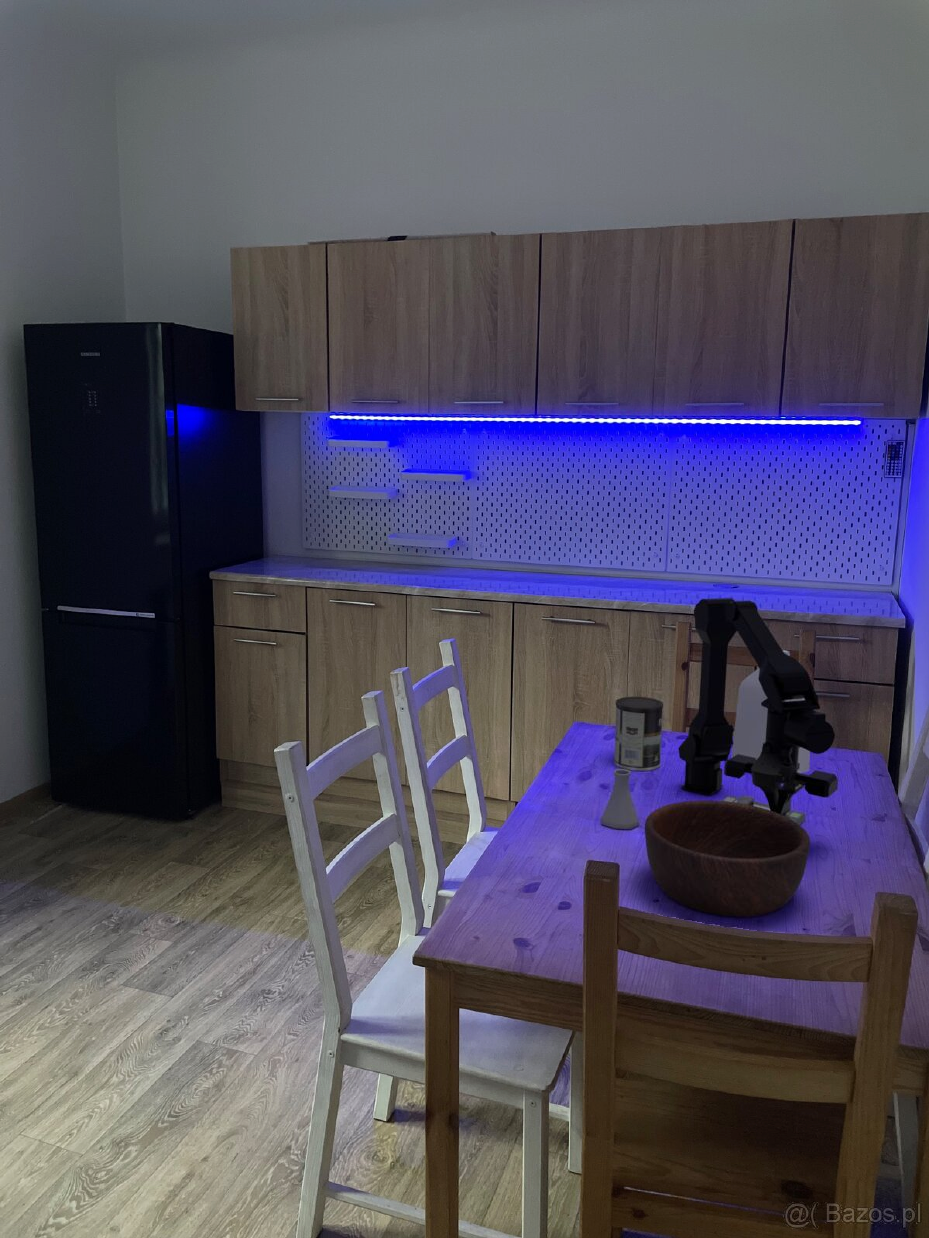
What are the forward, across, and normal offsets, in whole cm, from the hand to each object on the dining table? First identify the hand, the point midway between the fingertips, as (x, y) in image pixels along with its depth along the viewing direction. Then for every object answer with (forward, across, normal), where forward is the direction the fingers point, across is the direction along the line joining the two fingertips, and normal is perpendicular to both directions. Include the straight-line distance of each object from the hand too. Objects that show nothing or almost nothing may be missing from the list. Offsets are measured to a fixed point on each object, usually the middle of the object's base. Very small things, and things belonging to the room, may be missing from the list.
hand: (776, 820), depth 173 cm
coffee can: (+3, -39, +21) cm, 44 cm away
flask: (+3, -25, -12) cm, 28 cm away
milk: (+3, -15, +37) cm, 40 cm away
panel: (+3, -6, 0) cm, 7 cm away
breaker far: (+1, -2, +8) cm, 9 cm away
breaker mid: (+1, -6, 0) cm, 6 cm away
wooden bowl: (+3, +1, -26) cm, 26 cm away
